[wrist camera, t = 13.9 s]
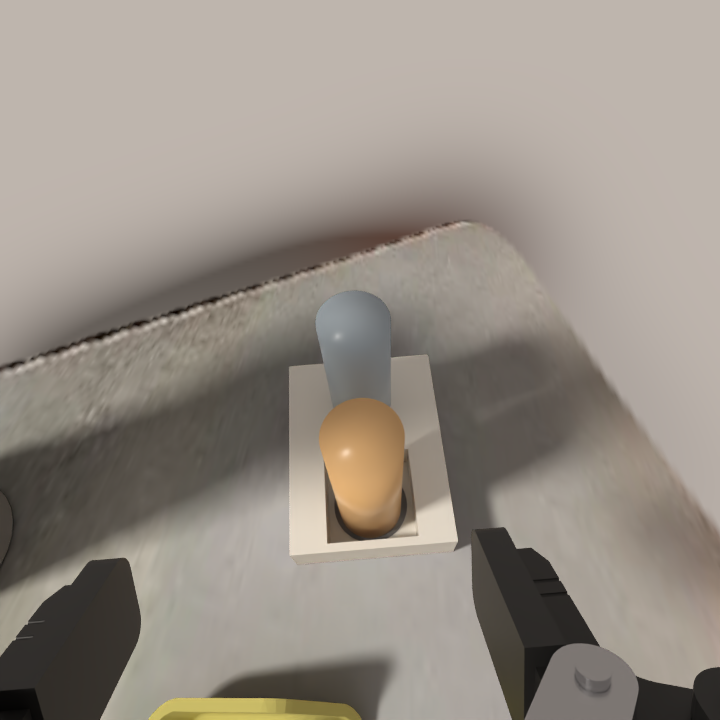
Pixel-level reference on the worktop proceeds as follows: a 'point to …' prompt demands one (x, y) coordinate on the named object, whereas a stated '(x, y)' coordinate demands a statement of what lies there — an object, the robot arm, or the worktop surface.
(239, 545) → the worktop surface
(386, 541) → the housing
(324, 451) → the tan round-top capsule
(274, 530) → the worktop surface
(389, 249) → the worktop surface
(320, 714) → the plastic component
